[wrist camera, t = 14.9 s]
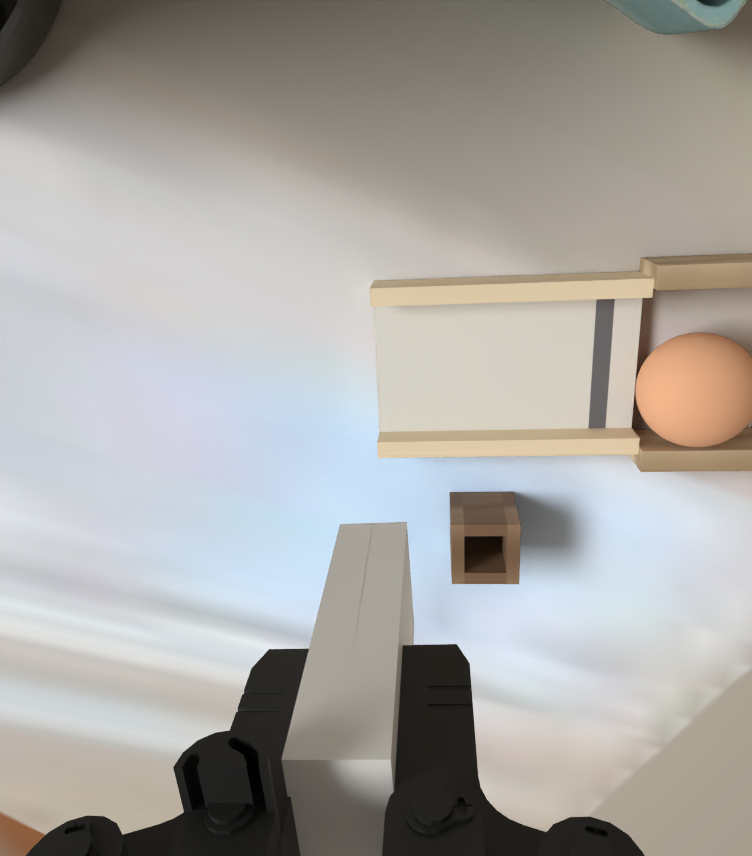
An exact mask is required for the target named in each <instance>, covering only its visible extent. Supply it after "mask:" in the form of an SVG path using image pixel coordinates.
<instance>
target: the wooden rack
mask: <svg viewBox="0 0 752 856" xmlns="http://www.w3.org/2000/svg"><path fill="white" fill-rule="evenodd" d="M640 272H642V273H644V274H646V275H648V276H650V277H652V278H654V286H653V288H654V289H656V290H683V289H713V288H742V287H752V253H751V254H725V255H699V256H672V257H646V258H641V261H640ZM634 432H635V433H636V434H637V436H638V437H639V438H640V440H639V451H638V455H630V457H631V458H632V460H633V461H634V463H635V464H636V466H637V467H638V469H639V470H640V471H641V472H670V471H752V428H744V429H743V430H742V431H741V432H740V433H738V434H737V435H736V436H734V437H733V438H731V439H729V440H727V441H725V442H722V443H720V444H716V445H712V446H706V447H688V446H682V445H679V444H675V443H672V442H670V441H668V440H666V439H664V438H662V437H661V436H659V435H658V434H657V433H655V432H654V431H653V430H652V429H637V430H634Z"/></svg>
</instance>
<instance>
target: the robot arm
mask: <svg viewBox="0 0 752 856" xmlns="http://www.w3.org/2000/svg"><path fill="white" fill-rule="evenodd" d="M60 3H61V0H0V85H1V84H3V83H4V82H6V81H7V80H8V79H10V78H11V77H12V76H13V75H15V74H16V73H17V72H18V71H19V70H20V69H21V68H22V67H23V66H24V65H25V64H26V63H27V62H28V61H29V59H30V58H31V57H32V56H33V55H34V53H35V52H36V51H37V49H38V48H39V46H40V45H41V43H42V42H43V40H44V38H45V37H46V35H47V33H48V31H49V29H50V27H51V25H52V23H53V21H54V19H55V16H56V14H57V11H58V9H59V6H60ZM413 637H414V617H413V603H412V589H411V576H410V562H409V548H408V535H407V522H394V523H366V524H340V527H339V531H338V535H337V539H336V543H335V547H334V551H333V555H332V559H331V563H330V567H329V571H328V575H327V579H326V583H325V587H324V591H323V595H322V599H321V603H320V607H319V611H318V615H317V619H316V623H315V627H314V631H313V635H312V639H311V643H310V647H309V649H269V650H268V651H267V652H266V653H265V655H264V656H263V657H262V658H261V659H260V660H259V661H258V662H257V663H256V664H255V665H254V667H253V668H252V669H251V672H250V675H249V678H248V681H247V683H246V686H245V689H244V694H243V695H242V698H241V700H240V703H239V706H238V712H236V715H235V717H234V720H233V723H232V726H231V729H230V731H224V732H218V733H214V734H212V735H209V736H207V737H205V738H203V739H200V740H198V741H197V742H195V743H194V744H193V745H192V746H191V747H189V748H188V749H187V750H186V751H184V752H183V753H182V755H181V757H180V758H179V760H178V761H177V763H176V764H175V766H174V767H173V768H174V772H175V776H176V780H177V784H178V788H179V793H180V797H181V801H182V805H183V809H184V813H182V814H181V815H179V816H177V817H176V818H174V819H172V820H169V821H166V822H164V823H161V824H159V825H155V826H152V827H148V828H145V829H141V830H138V831H134V832H131V833H128V834H124V835H122V833H121V831H120V829H119V827H118V825H117V823H115V822H113V821H111V820H110V819H108V818H106V817H104V816H84V817H81V818H77V819H74V820H70V821H67V822H66V823H64V824H62V825H60V826H59V827H57V828H55V829H54V830H52V831H50V832H49V833H48V834H47V835H45V836H44V837H43V838H42V839H41V840H40V841H39V842H38V843H37V844H36V845H35V846H34V847H33V848H32V849H31V850H30V851H29V853H28V854H27V855H26V856H644V854H643V852H642V851H641V850H640V849H639V847H638V846H637V845H636V844H635V842H634V841H633V840H632V839H631V837H629V835H628V834H626V833H625V832H623V831H622V830H620V829H619V828H617V827H616V826H614V825H613V824H611V823H609V822H605V821H602V820H599V819H595V818H592V817H570V818H567V819H565V820H563V821H560V822H558V823H556V824H553V826H552V827H551V828H550V829H549V830H548V831H547V832H544V831H540V830H537V829H534V828H531V827H528V826H524V825H522V824H519V823H517V822H515V821H513V820H510V819H508V818H507V817H505V816H504V815H503V814H501V813H500V812H498V811H497V810H496V809H495V808H494V807H493V806H492V805H491V804H490V803H489V801H488V800H487V799H486V797H485V795H484V793H483V791H482V790H481V787H480V783H479V778H478V769H477V756H476V743H475V730H474V717H473V704H472V691H471V677H470V664H469V662H468V660H467V659H466V658H465V656H464V655H463V653H462V652H461V650H460V649H459V647H458V646H457V644H448V645H413Z"/></svg>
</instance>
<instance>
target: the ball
mask: <svg viewBox="0 0 752 856" xmlns="http://www.w3.org/2000/svg"><path fill="white" fill-rule="evenodd" d="M635 394H636V401H637V405H638V408H639V411H640V413H641V415H642V417H643V419H644V420H645V422H646V423H647V424H648V426H649V427H650V428H651V429H652V430H653V431H654V432H655V433H657V434H658V435H659V436H661V437H662V438H664V439H666V440H668V441H670V442H672V443H675V444H679V445H682V446H688V447H706V446H712V445H716V444H720V443H722V442H725V441H727V440H729V439H731V438H733V437H734V436H736V435H737V434H738V433H740V432H741V431H742V430H743V429H744V428H745V427H746V426H747V425H748V424H749V423H750V421H751V420H752V357H751V356H750V355H749V354H748V352H747V351H746V350H745V349H743V348H742V347H741V346H740V345H738V344H737V343H735V342H734V341H732V340H730V339H728V338H726V337H723V336H720V335H717V334H711V333H700V332H698V333H688V334H684V335H680V336H677V337H674V338H672V339H670V340H668V341H666V342H664V343H663V344H661V345H660V346H658V347H657V348H656V349H655V350H654V351H653V352H652V353H651V354H650V355H649V356H648V357H647V359H646V360H645V362H644V363H643V365H642V366H641V369H640V371H639V373H638V377H637V381H636V391H635Z"/></svg>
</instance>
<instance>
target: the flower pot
mask: <svg viewBox="0 0 752 856" xmlns="http://www.w3.org/2000/svg"><path fill="white" fill-rule="evenodd" d="M605 1H606V2H608V3H609V4H610V5H612V6H613V7H615V8H616V9H618V10H619V11H620V12H622V13H623V14H625V15H626V16H627V17H629V18H630V19H631V20H633V21H634V22H636V23H637V24H639V25H640V26H642V27H644V28H645V29H647V30H650V31H652V32H655V33H658V34H683V33H691V32H699V31H708V30H714V29H721V28H724V27H726V26H727V25H729V24H730V23H731V22H732V21H733V20H734V19H735V18H736V16H737V15H738V13H739V12H740V10H741V9H742V8H743V6H744V5H745V3H746V2H747V0H605Z"/></svg>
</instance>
